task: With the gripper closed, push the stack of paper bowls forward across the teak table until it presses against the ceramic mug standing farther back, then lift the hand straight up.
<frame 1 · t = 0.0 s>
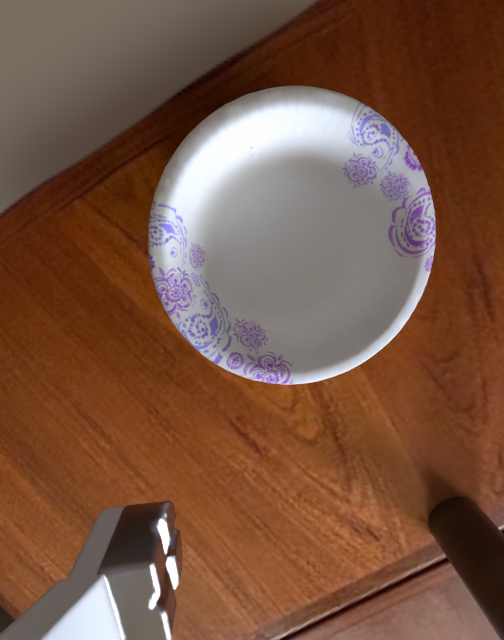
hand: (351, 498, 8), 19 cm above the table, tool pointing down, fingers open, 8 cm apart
paper bowls: (276, 244, 25), on the table
pepper mill: (454, 519, 32), on the table
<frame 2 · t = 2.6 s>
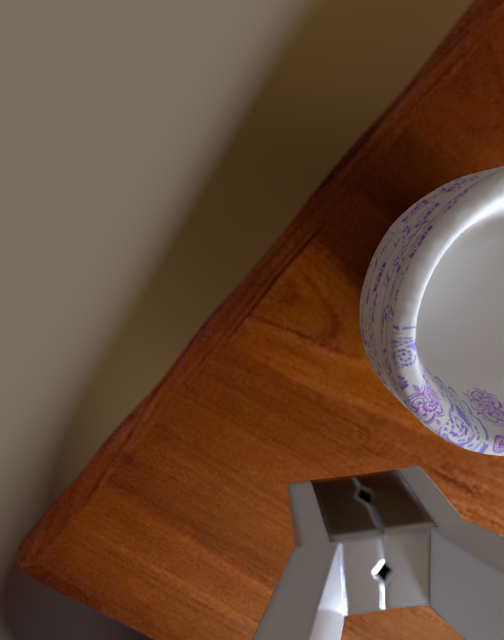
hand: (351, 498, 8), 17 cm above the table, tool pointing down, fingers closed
paper bowls: (446, 293, 24), on the table
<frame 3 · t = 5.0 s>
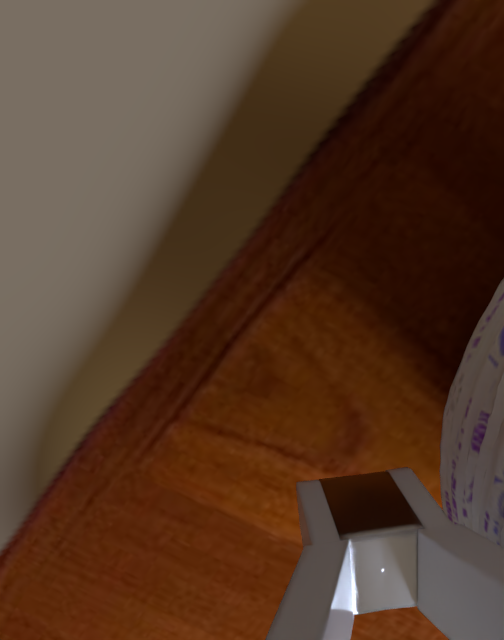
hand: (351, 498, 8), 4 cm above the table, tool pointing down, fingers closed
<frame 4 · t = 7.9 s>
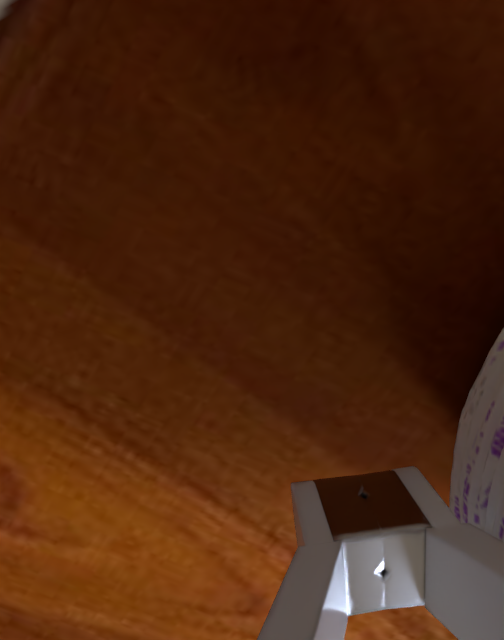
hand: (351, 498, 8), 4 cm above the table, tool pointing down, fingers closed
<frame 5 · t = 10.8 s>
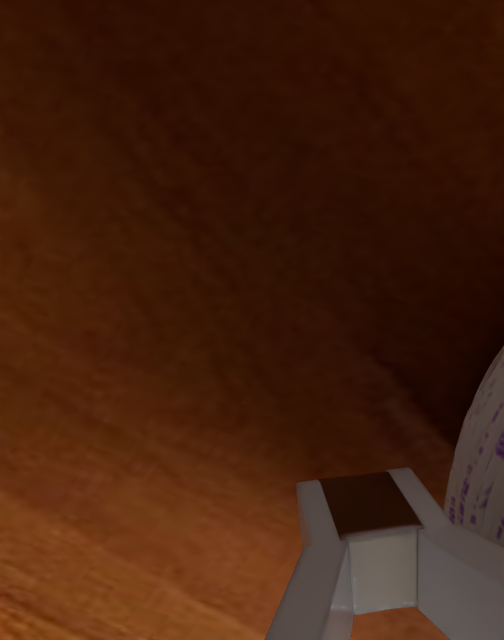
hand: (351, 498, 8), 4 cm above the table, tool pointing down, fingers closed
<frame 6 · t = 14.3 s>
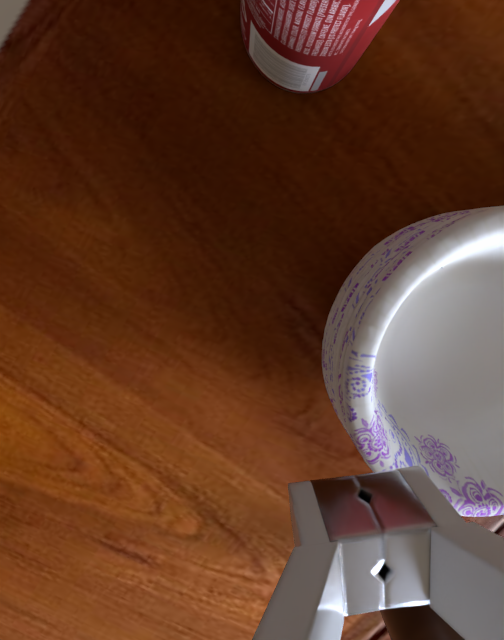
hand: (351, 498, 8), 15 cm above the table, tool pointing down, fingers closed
soda can: (302, 31, 19), on the table
paper bowls: (419, 331, 23), on the table
pepper mill: (396, 567, 28), on the table
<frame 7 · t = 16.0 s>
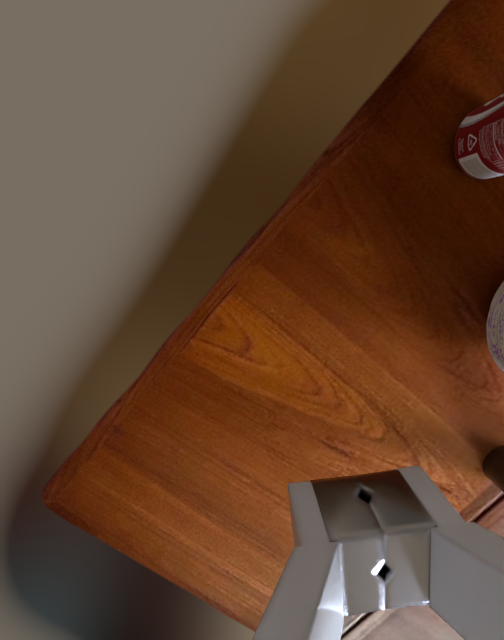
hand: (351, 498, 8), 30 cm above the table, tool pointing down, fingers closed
soda can: (480, 145, 35), on the table
pepper mill: (502, 463, 43), on the table
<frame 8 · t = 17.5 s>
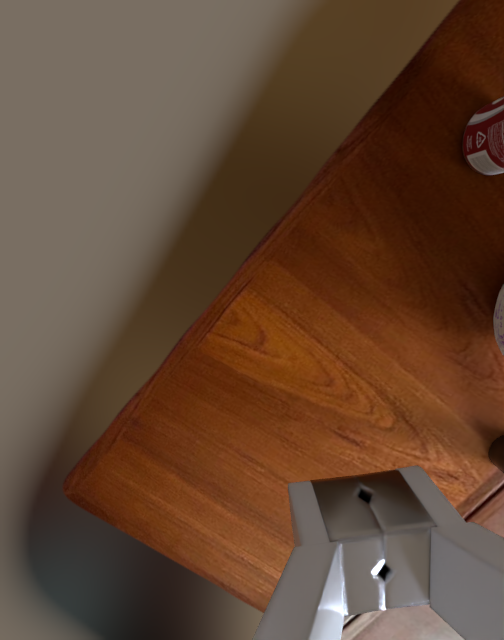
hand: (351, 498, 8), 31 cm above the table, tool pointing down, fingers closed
soda can: (488, 141, 36), on the table
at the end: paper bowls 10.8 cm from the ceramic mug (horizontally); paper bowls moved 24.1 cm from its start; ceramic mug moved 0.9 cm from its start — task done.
